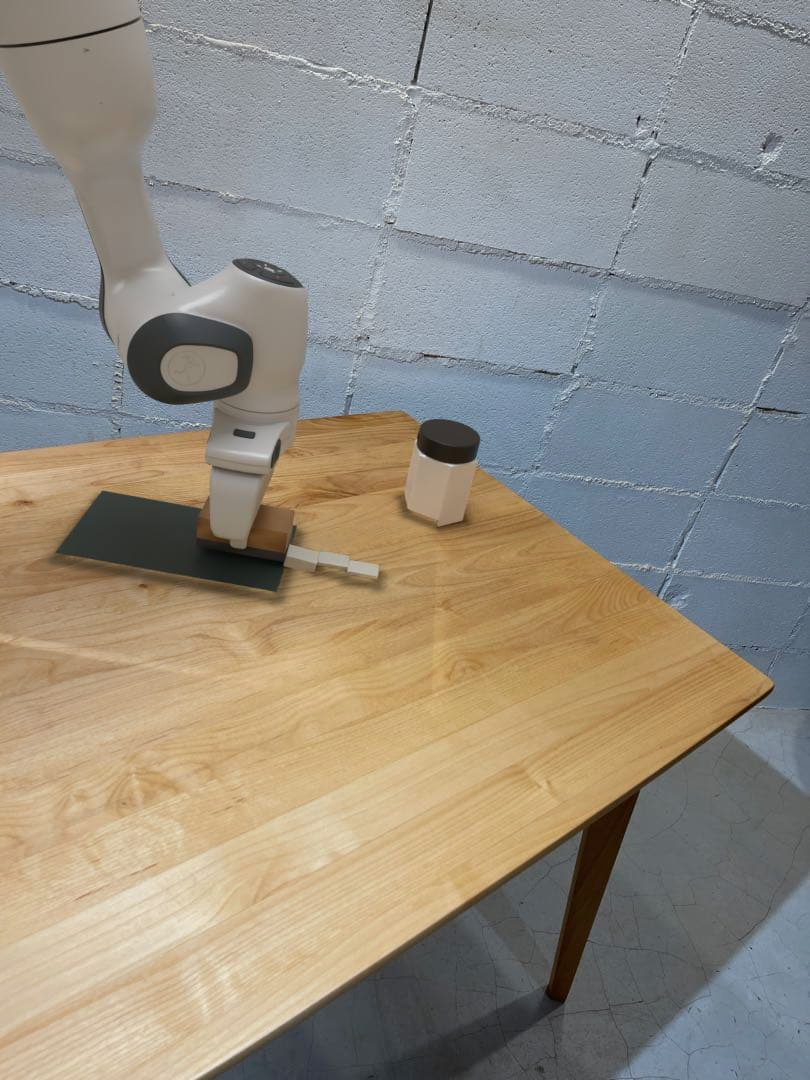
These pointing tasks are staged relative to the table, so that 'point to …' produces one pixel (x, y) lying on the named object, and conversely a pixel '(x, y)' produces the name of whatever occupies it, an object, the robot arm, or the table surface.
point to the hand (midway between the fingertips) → (245, 530)
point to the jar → (442, 470)
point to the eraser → (252, 533)
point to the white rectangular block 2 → (333, 560)
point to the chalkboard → (162, 542)
